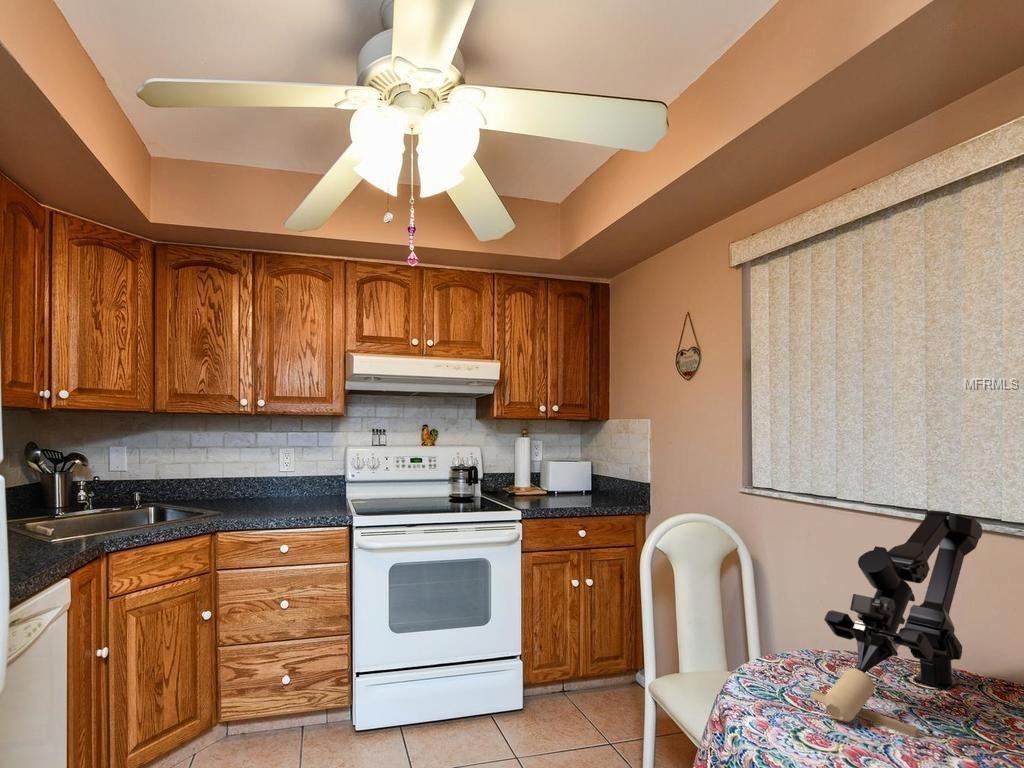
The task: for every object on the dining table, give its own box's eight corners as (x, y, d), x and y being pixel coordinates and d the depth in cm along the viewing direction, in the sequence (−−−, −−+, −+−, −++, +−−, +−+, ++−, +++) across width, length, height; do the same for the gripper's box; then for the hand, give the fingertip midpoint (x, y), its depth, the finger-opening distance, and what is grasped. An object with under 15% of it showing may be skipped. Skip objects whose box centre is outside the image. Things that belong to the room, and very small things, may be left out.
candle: (878, 682, 118) (852, 715, 113) (870, 699, 121) (844, 732, 116) (850, 662, 122) (823, 693, 117) (842, 679, 125) (816, 710, 120)
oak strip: (814, 696, 129) (814, 690, 129) (919, 735, 112) (919, 728, 112) (810, 698, 128) (810, 691, 128) (915, 737, 111) (915, 730, 111)
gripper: (827, 570, 133) (797, 632, 126) (922, 588, 117) (894, 660, 110) (850, 603, 136) (822, 665, 130) (945, 625, 121) (919, 697, 114)
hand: (860, 671), depth 121 cm, fingers closed, pressing on candle
